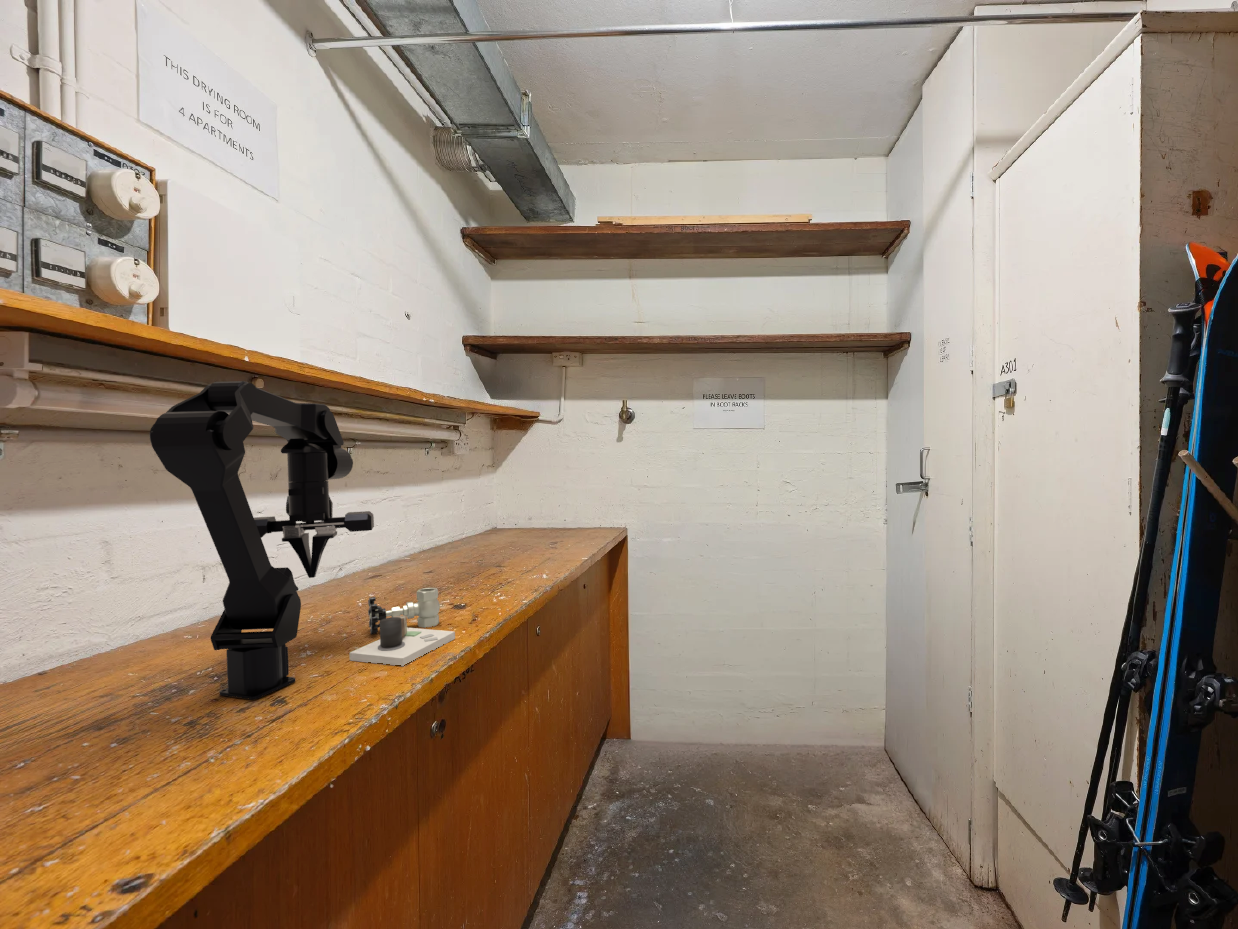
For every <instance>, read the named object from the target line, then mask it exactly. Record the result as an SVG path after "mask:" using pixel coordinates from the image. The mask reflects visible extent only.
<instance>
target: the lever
mask: <svg viewBox="0 0 1238 929" xmlns="http://www.w3.org/2000/svg"><path fill="white" fill-rule="evenodd" d="M407 619H408V618H407V615H406V616H403V615H400V616H394V617H392V616H390V617H386V618H385V619H382V620H380V621H379V623H380V627H379V639H380V646H381V647H394V646H398V645H400V644H402V638H403V637H404V635H405V634H406V633H407V628H408V620H407Z"/></svg>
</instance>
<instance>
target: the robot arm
mask: <svg viewBox="0 0 1238 929" xmlns="http://www.w3.org/2000/svg"><path fill="white" fill-rule="evenodd" d="M333 413H334V412H332V411H331V410H330V408H329V406H328V405H327V404H324V403H314V402H313V403H311V402H308V403H307V402H296V401H292V400H290V399H288V398H284V397H283V396H280V395H277V394H274V393H271V392H269V391H266V390H264V389H261V388H259V387H258V386H257V387H256V385H255V384H254V383H251V382H248V381H246V380H245V381H244V380H240V381H239V380H233V381H231V380H230V381H214V382H211V383H209V384H207V385H206V386H205V387H204V388H202V390H201V391H200V392H199V393H196V394H195V395H192V396H191V397H189V398H187V399H185V400H182V401H180V402H178V403H176V404H174V405H173V406H171V407H170V408H169V409H168V410H167V411H166V412H164V413H162V414H160V415H159V416H157V418H156V420H155V422H154V423H153V425H152V426H151V428H150V430H149V440H150V442H149V443H150V444H151V448H152V450H153V451H154V452H155V454H156V456H157V457H158V459H159V461H160V462H161V464H162V465H163V467H164V469H165V470H166V471H167V472H169V473H170V475H172V476H174V477H175V478H177V479H178V480H180V481H181V482H182V483H184V484H185V485H187V486H188V487H189V488H190V490H191V491H192V494H193V497H194V499H195V501H196V503H197V506H198V510H199V511H200V514H201V515H202V519H203V520H204V523H205V525H206V528H207V531H208V533H209V535H210V538H211V540H212V542H213V545H214V547H215V550H216V552H217V554H218V556H219V560H220V562H221V564H222V566H223V569H224V571H225V574H226V576H227V579H228V584H227V588H226V590H225V593H224V595H223V597H222V605H223V608H224V609H223V610H222V614H221V616H220V617H219V619H218V621H217V623H216V626H215V627H214V630H213V632H212V633H211V635H210V642H211V644H212V647H213V650H214V651H220V650H226V651H225V652H226V673H227V675H226V676H227V687H226V688H224V689H221V690H220V691H219V692H218V693H219V696H223V697H228V698H229V697H230V698H237V699H244V700H250V701H254V700H255V701H256V700H257V699H260V698H262V697H264V696H267V695H268V694H271V693H273V692H275V691H278V690H280V689H282V688H285V687H287V686H289V685H290V684H293V683H295V682H296V681H297V680H296V677H293V676H290V675H289V674H290V672H289V671H290V668H289V667H290V666H289V647H288V646H287V645H286V644H288V643H290V642H291V641H292V640H294V639H296V638H297V637H298V629H299V624H300V623H299V622H300V618H301V617H300V615H301V609H302V606H301V605H302V601H301V598H300V596H299V594H298V591H299V587H298V585H296V583H295V579H294V576H293V572H292V570H291V569H290V568H289V567H274V566H272V563H271V562H270V558H269V556H268V554H267V551H266V548H265V546H264V542H263V539H262V538H263V537H264V536H266V535H267V534H272V533H281V532H282V534H283V536H282V537H281V542H288V543H289V544H290V546H291V547H292V549H293V550H294V552H295V553H296V555H297V557H298V559H299V560H300V562H301V565H302V566H303V568H304V570H305V572H306V575H307V576H308V578H310V579H311V578H315V577H316V576H317V572H318V569H319V566H320V564H321V563H320V562H321V559H322V557H323V553H324V551H325V549H326V546H327V543H328V542H329V540H330V539H334V538H335V537H336V536H337V535H338V531H337V530H338V529H341V528H342V529H344V528H345V529H347V531H348V532H351V533H353V532H367V531H372V530H373V529H374V526H375V522H374V521H375V520H374V519H375V517H374V514H373V512H372V511H369V510H368V511H366V510H365V511H348V512H347V513H346V514H344V515H345V516H336V517H333V508H334V507H333V506H334V505H333V503H334V502H333V501H332V499H331V497H330V491H329V488H330V487H329V486H330V485H329V481H330V480H337V479H338V480H339V479H343V478H345V477H347V476H348V475H349V474H350V473H351V471H352V469H353V467H354V466H353V465H354V461H353V460H354V459H352V455H351V454H350V453H349V451H347V450H346V449H344V448H342V446H344V444H345V442H344V440H343V436H342V434H341V431H340V429H339V425H338V423H337V421H336V418H335V416H334V414H333ZM253 422H256V423H259V424H263V425H266V426H269V427H272V428H274V433H275V434H276V435H278V436H280V437H281V438H284V439H285V440H286V441H287V443H286V444H285V445H283V446H282V448H281V449H280V453H281V454H283V455H284V454H287V478H288V479H287V485H288V486H287V487H288V489H287V490H288V495H287V496H286V503H285V512H286V514H287V515H288V517H289V519H284V520H283V519H281V520H277V519H276V517H275V516H260V517H255V516H254V515H253V512H252V509H251V506H250V504H249V501H248V499H247V498H248V497H247V496H246V493H245V491H244V488H243V486H242V482H241V480H240V477H239V471H240V468H241V465H242V462H243V460H244V457H245V455H246V448H245V445H244V441H245V440H246V439H247V437H248V436H249V435H250V434H251V432H253V430H254V423H253ZM297 522H298V523H297ZM310 530H311V531H315V532H316V533H315V534H314V535H313V536H312V542H311V547H310V533H309V532H306V531H310ZM310 548H311V549H310ZM246 630H247V631H246ZM249 630H250V631H249ZM251 630H262V631H251ZM263 630H265V631H263ZM242 631H243V632H242Z"/></svg>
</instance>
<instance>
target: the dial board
mask: <svg viewBox="0 0 1238 929" xmlns="http://www.w3.org/2000/svg"><path fill="white" fill-rule="evenodd" d="M455 639H456V632H455V631H454V630H453V631H452V630H441V629H431V628H430V629H428V628H420V627H418V628H417V627H416V628H415V627H407V633H406V634H405V635H404V637H403V638H402V644H400V645H398V646H394V647H381V646H380V638H379V639H378V640H375V641H372V642H370V643H368V644H366V645H364V646H362V647H361V646H360V647H359V648H357V649H355V650H352V651H350V652H349V654H348V655H349V661H351V662H352V661H353V662H363V663H368V662H371V663H370V664H377V663H383V664H382V665H386V664H390V665H389V666H395V665H401V666H400V667H405V666H406V665H405V664H407V663H409V662H411V661H412V662H414V661H416V660H417V659H416V658H418V657H420V656H422V657H424V656H425V655H424V654H426V653H427V654H429V653H431V652H432V651H431V650H433V651H435V650H437V649H439V648H441V647H442V646H444V645H446V644H448V643H450V642H451V641H453V640H455ZM443 644H444V645H443ZM438 647H439V648H438ZM436 648H437V649H436ZM430 651H431V652H430ZM428 652H429V653H428ZM427 654H426V655H427ZM423 655H424V656H423ZM420 658H421V657H420ZM415 659H416V660H415ZM418 659H419V658H418ZM413 660H414V661H413ZM412 662H411V663H412ZM409 664H410V663H409ZM404 665H405V666H404ZM407 665H408V664H407Z"/></svg>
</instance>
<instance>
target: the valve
mask: <svg viewBox="0 0 1238 929" xmlns="http://www.w3.org/2000/svg"><path fill="white" fill-rule="evenodd" d="M438 597H439V589H438V588H437V587H425V588H424V587H423V588H419V589H418V590H417V591H416V601H417V602H413V601H406V603H405V605H403V606H402V607H401V606H393V607H391V609H389V610H386V608H385V607H382V606H380V605H378V604H377V603H375V602H376V601H377V600H376V599H377V598H376V596H373V597H369V598H368V600H367V603H368V604H367V605H368V607H369V608H368V610H367V614H368V616H369V621H368V627H369V628H370V630H369V632H370V635H376V634H377V635H378V632H379V629H380V620H382V619H385V618H388V617H394V616H406V615H407V619H409V620H410V619H413V618H415V617H416V616H418V617H417V627H418V628H422V629H427V628H432V626H433V627H437V626H438V624H440V615H439V612H440V608H441V606H440V601H439V599H438ZM400 607H401V608H400ZM378 622H379V623H378ZM426 627H427V628H426Z"/></svg>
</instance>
